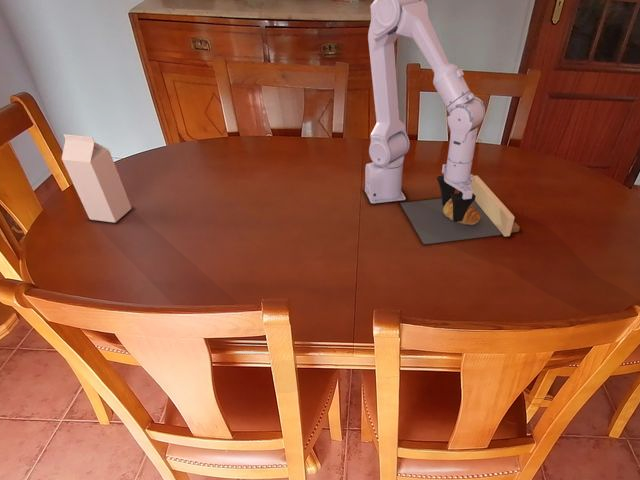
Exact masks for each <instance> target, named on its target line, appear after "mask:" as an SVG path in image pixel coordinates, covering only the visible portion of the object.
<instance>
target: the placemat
mask: <svg viewBox="0 0 640 480" xmlns="http://www.w3.org/2000/svg"><path fill="white" fill-rule="evenodd" d="M399 204H400V206H401V208H402V209H403V211H404V213H405V215H406V216H407V218H408V219H409V222H410V223H411V225H412V227H413V228H414V231H416V234H417V235H418V237H419V238H420V240H421V243H422V245H432V244H438V243H439V244H440V243H447V242H453V241H454V242H455V241H462V240H471V239H478V238H479V239H480V238H487V237H494V236H495V237H496V236H501V235H502V236H503V234H502V233H501V232H500V231H499V230H498V228H497V227H496V226H495V225H494V223H493V222H492V221H491V220H490V219H489V217H488V216H487V215H486V214H485V212H484V211H483V210H482V209H481V208H480V206H479V205H478V204H477V203H476V201H475V200H474V201H473V202H472V203H471V205H472V206H474V208H475V209H477V210H478V213H479V214H480V216H481V218H480V220H479V222H477V223H476V224H473V225H470V224H462V223H458V222H454V221H453V220H451V219H450V218H449V217H446V216H445V214H444V213H443V208H444V206H443V205H442V199H441V198H433V199H424V200H416V201H406V202H400V203H399Z"/></svg>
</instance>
